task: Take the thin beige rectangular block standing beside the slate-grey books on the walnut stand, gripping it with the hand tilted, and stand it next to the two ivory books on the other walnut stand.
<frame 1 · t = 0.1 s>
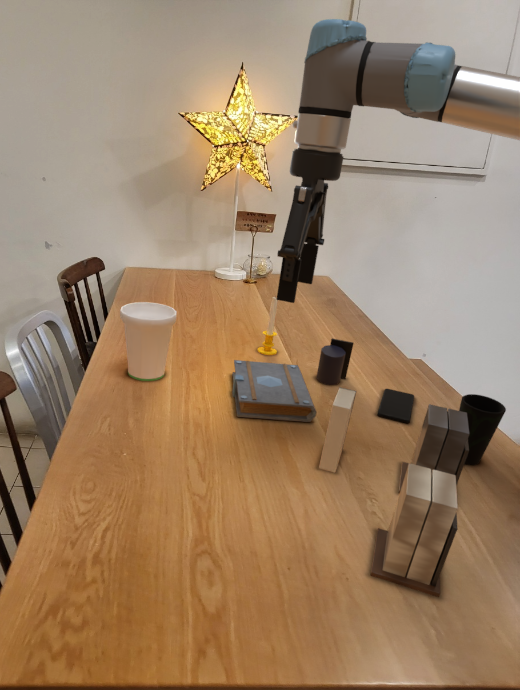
hand: (295, 291, 88), 30 cm above the table, tool pointing down, fingers open, 13 cm apart
book: (269, 398, 120), on the table
white books: (405, 562, 77), on the table
beige rectangular block: (330, 460, 99), on the table
cup 2: (146, 374, 125), on the table
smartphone: (395, 407, 122), on the table
grey books: (425, 485, 95), on the table
cup: (463, 458, 105), on the table
candle: (266, 352, 145), on the table
speaker: (330, 382, 132), on the table
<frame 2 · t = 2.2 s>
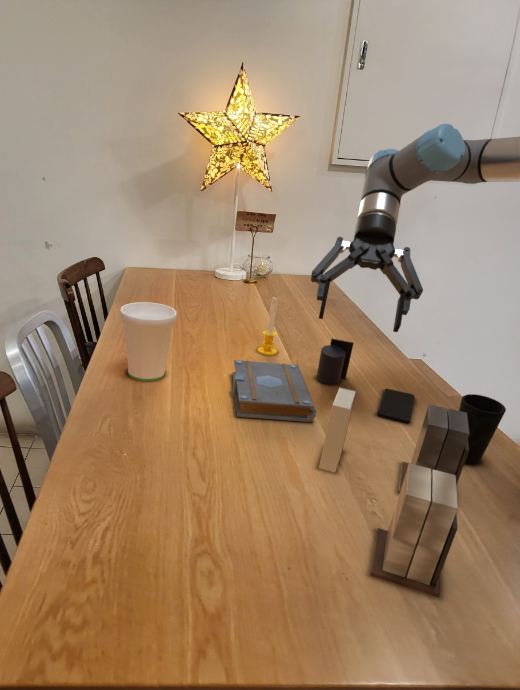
hand: (358, 322, 98), 24 cm above the table, tool tilted 45°, fingers open, 13 cm apart
nothing on the table moved.
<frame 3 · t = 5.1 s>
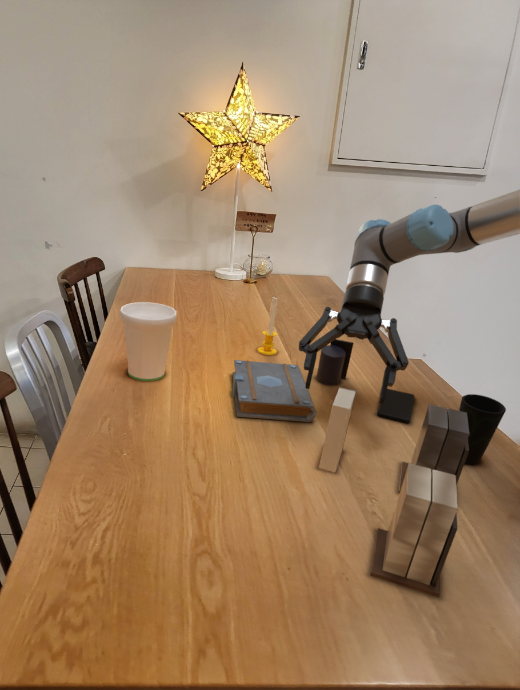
hand: (344, 393, 99), 11 cm above the table, tool tilted 45°, fingers open, 13 cm apart
nothing on the table moved.
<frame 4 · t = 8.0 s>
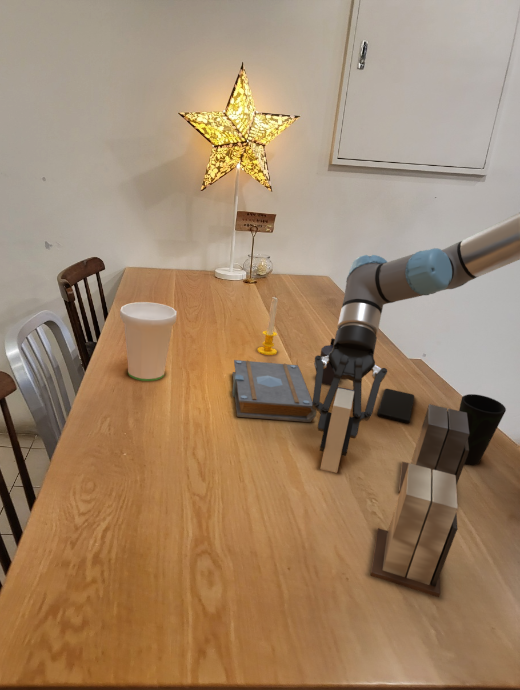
hand: (333, 451, 94), 4 cm above the table, tool tilted 45°, fingers closed on beige rectangular block, 3 cm apart
beige rectangular block: (330, 460, 99), on the table, touching gripper
everything else where it was.
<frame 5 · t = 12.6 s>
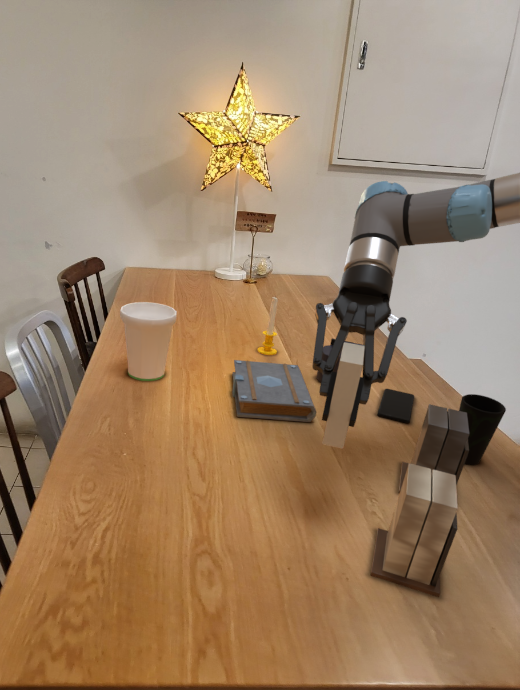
hand: (338, 420, 75), 18 cm above the table, tool tilted 45°, fingers closed on beige rectangular block, 3 cm apart
beige rectangular block: (334, 433, 80), point 14 cm above the table, touching gripper
everything else where it was.
when the fingers open (4 cm above the table, at t = 17.4 s): beige rectangular block stays where it is, on the table.
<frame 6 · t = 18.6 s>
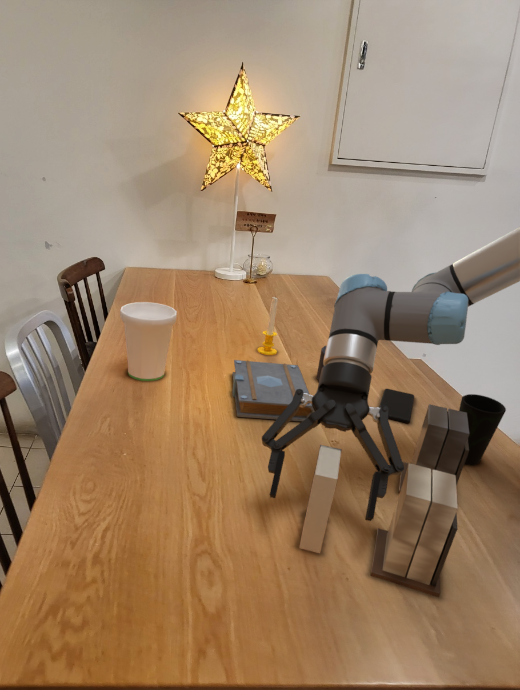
hand: (320, 507, 75), 7 cm above the table, tool tilted 45°, fingers open, 13 cm apart
beige rectangular block: (312, 533, 80), on the table
everything else where it was.
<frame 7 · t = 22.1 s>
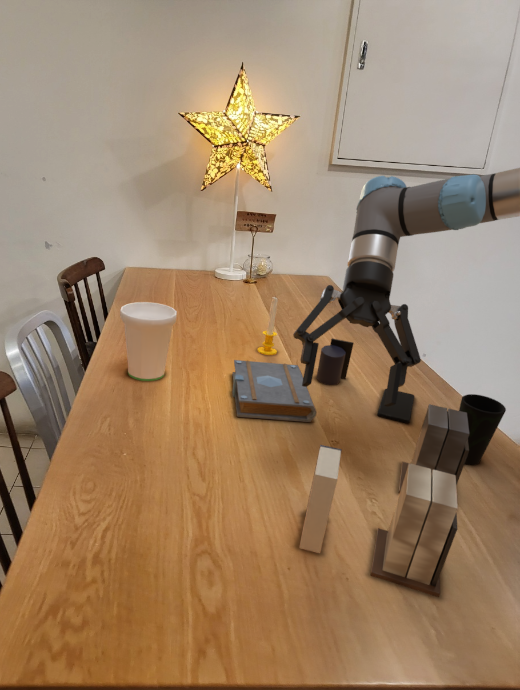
hand: (348, 395, 84), 18 cm above the table, tool tilted 40°, fingers open, 13 cm apart
nothing on the table moved.
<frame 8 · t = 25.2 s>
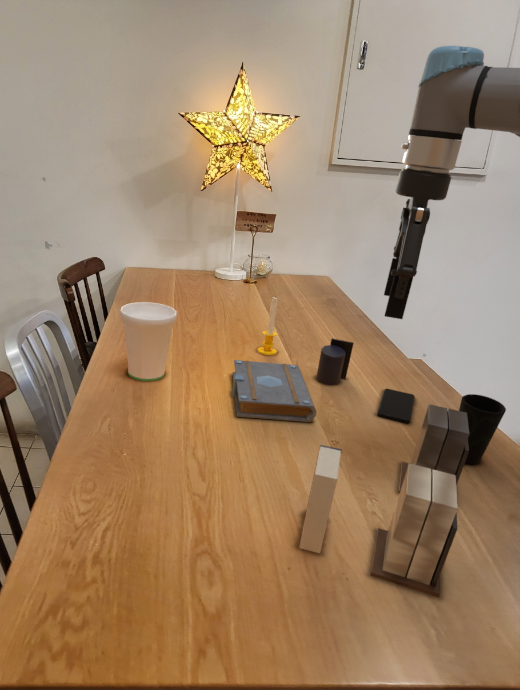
hand: (392, 306, 91), 29 cm above the table, tool pointing down, fingers open, 13 cm apart
nothing on the table moved.
at the end: beige rectangular block inside the target area on the table beside the white books (0.1 cm from its centre), on the table; beige rectangular block tilted 0°; the gripper is holding nothing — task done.
